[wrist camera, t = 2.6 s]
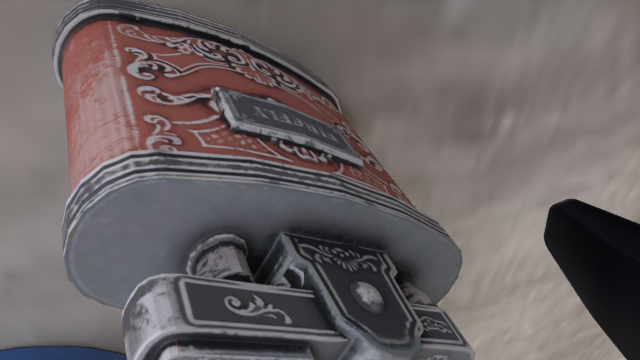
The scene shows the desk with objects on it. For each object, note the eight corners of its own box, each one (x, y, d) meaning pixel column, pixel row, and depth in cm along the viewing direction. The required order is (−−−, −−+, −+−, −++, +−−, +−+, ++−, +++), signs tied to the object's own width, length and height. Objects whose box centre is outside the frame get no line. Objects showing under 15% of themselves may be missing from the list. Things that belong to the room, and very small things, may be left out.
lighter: (351, 77, 17) (577, 327, 10) (299, 165, 19) (466, 444, 11) (77, -36, 13) (134, 272, 6) (34, 91, 14) (32, 476, 7)
